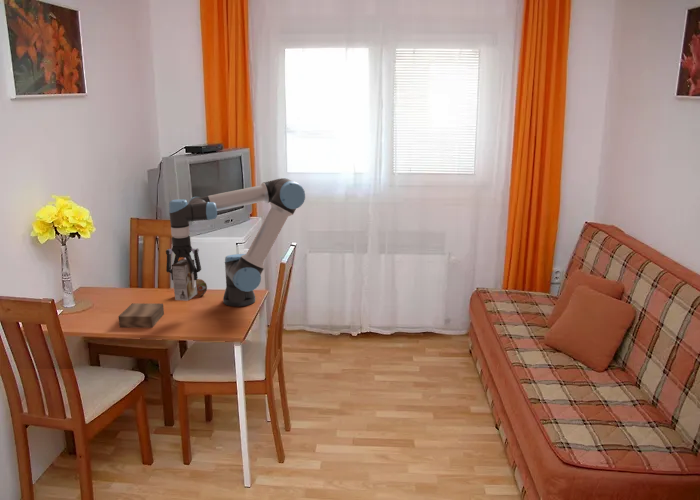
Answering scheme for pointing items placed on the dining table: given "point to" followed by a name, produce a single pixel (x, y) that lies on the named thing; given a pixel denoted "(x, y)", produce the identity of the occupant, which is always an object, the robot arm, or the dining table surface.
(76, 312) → the dining table surface
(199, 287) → the tin
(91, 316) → the dining table surface
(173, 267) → the coffee box
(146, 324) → the walnut plinth
